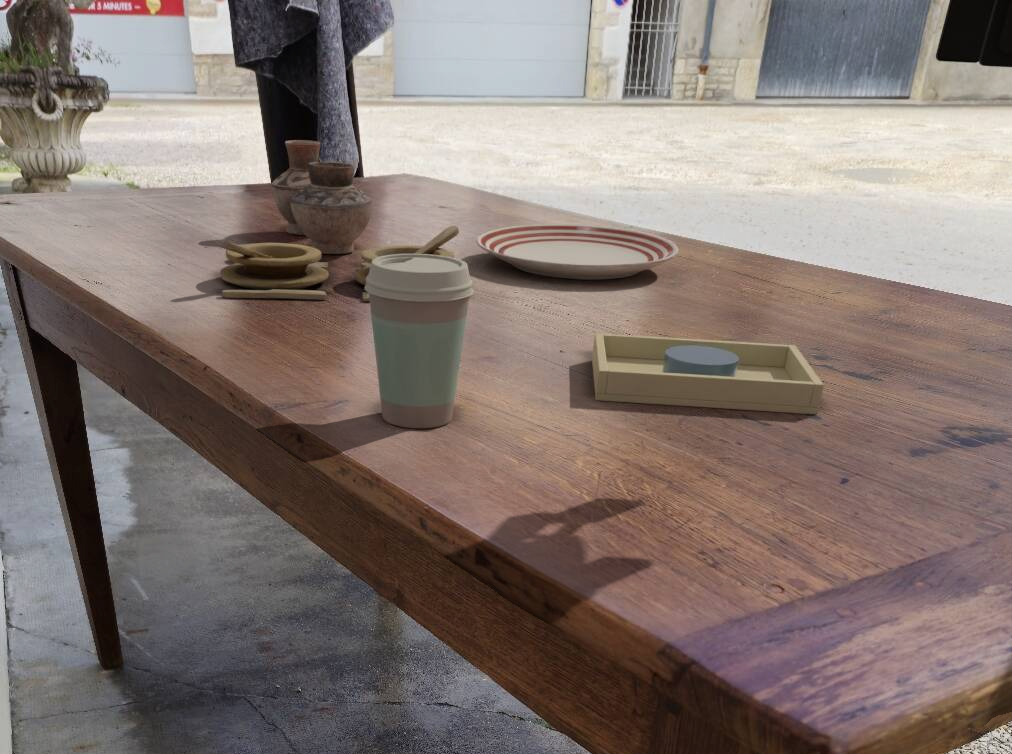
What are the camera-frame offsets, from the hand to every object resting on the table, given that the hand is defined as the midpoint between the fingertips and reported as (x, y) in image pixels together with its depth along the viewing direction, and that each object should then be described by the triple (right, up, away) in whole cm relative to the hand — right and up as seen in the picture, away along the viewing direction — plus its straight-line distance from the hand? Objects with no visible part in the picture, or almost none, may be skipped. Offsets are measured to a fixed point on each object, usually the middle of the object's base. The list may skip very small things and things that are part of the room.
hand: (978, 64), depth 73 cm
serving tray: (-14, -14, +25) cm, 32 cm away
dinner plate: (-20, +18, +70) cm, 75 cm away
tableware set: (-51, +9, +56) cm, 76 cm away
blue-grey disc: (-14, -14, +25) cm, 31 cm away
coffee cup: (-40, -21, +14) cm, 47 cm away
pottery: (-56, +25, +78) cm, 99 cm away
